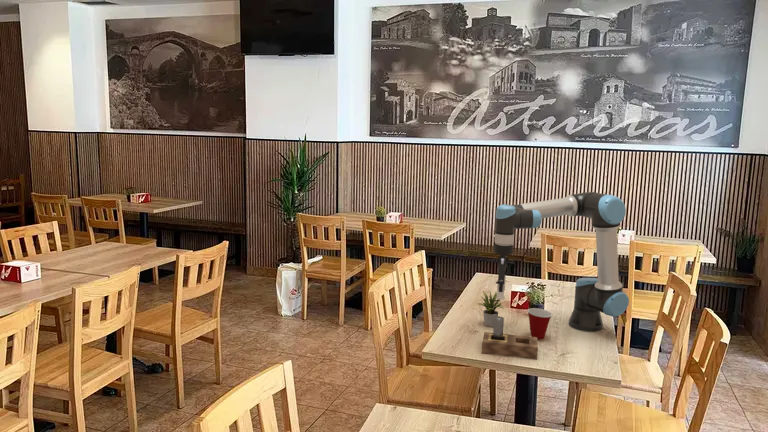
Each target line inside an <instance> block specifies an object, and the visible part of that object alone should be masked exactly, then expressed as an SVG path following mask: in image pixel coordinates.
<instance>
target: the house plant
mask: <svg viewBox="0 0 768 432" xmlns="http://www.w3.org/2000/svg"><path fill="white" fill-rule="evenodd" d="M483 295H484V297H483ZM483 295H480V297H481V299H482V300H483V301H484V302H483V303H478V304H477V305H480V306H483V307H485V310H483V311H482V314H483V315H482V316H483V323H484V326H485V327H488V328H494V317H495V316H499V311H497V310H499V309H500V308H501V309H504V306H502V305H503V302H501V300H499V299H497V291H495V292H494V295H493V296H492V293H491V291H489V295H488V294H486V292H485V291H483ZM506 297H508V295H506ZM504 299H506V298H505V297H504ZM499 302H500V303H499Z"/></svg>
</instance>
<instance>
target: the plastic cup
mask: <svg viewBox="0 0 768 432" xmlns="http://www.w3.org/2000/svg"><path fill="white" fill-rule="evenodd" d="M527 313H528V321H529V323H528V324H529V330H530V337H537V339H538V340H542V341H543V340H544V339H545V337H546V334H547V333H546V332H547V330H548V326H549V323H550V320H551V319H552V317H553V313H552V312H551V311H549V310H546V309H542V308H538V307H537V308H536V307H533V308H532V307H531V308H528V309H527ZM538 340H537V341H538Z"/></svg>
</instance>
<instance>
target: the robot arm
mask: <svg viewBox="0 0 768 432" xmlns="http://www.w3.org/2000/svg"><path fill="white" fill-rule="evenodd" d="M495 211H496V212H495V226H494V227H495V229H494V234H493V235H492V237H493V238H494V244H493V252H494V254H496V255H499V256H498V257H497V269H498V273H497V275H498V276H497V277H498V278H497V280H496V281H495V284H497V287H496V288H497V290H496V292H497V298H496V300H498V299H499V300H500V301H502V300H503V301H504V299H505V290H506V279H507V277H506V275H508V271H507V267H508V261H509V257H507V256H510V255H512V254H513V253H514V242H515V240H514V239H515V230H517V229H518V230H520V229H522V230H524V229H531V230H532V229H537V228H539V227H540V226H541V225H542V219H545V218H546V219H548V218H554V217H555V218H556V217H561V216H569V217H584V218H587V219H590V220H591V228H593V229H594V230H595V244H596V245H595V247H596V266H597V267H596V268H597V277H581V278H578V279H576V281H575V282H576V283H575V288H574V289H575V290H574V306H573V310H572V312H571V315H570V317H569V319H568V326H569V327H570V328H572V329H575V330H578V331H582V332H589V333H590V332H591V333H593V332H600V331H602V330H603V327H604V322H603V318H602V315H601V313H603V314H604V315H606V316H610V317H614V318H615V317H618V316H622V315H623V314H624V313H625V311H626V310H627V309H628V306H629V303H630V298H629V296H628V295H627V293H625V292H624V289H623V287H624V286H623V283H622V282H621V281H619V280H620V278H619V258H618V256H619V255H618V251H619V250H618V232H617V231H618V228H619V227H620V226H621V223H622V221H623V220H624V218H625V217H626V213H627V212H626V211H627V210H626V205H625V203H624V201H623V200H622V198H619V197H618V196H615V195H613V194H607V193H599V192H595V191H587V192H580V193H574V194H568V195H566V196H565V197H562V198H561V197H560V198H556V199H555V198H554V199H549V200H548V199H547V200H540V201H533V202H525V203H518V204H511V205H510V204H508V203H507V204H504V203H503V204H500V205H498V206H497V207H496V210H495Z"/></svg>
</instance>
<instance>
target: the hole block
mask: <svg viewBox="0 0 768 432" xmlns="http://www.w3.org/2000/svg"><path fill="white" fill-rule="evenodd" d="M538 343H539V342H538V340H537V337H531V336H525V335H518V334H508V333H503V341H501V340H493V332H489V331H484V332H483V336H482V341H481V354H483V355H484V354H485V355H492V356H493V355H494V356H501V357H502V356H503V357H510V358H518V359H519V358H520V359H528V360H538V353H539V350H538V349H539V344H538Z"/></svg>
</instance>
